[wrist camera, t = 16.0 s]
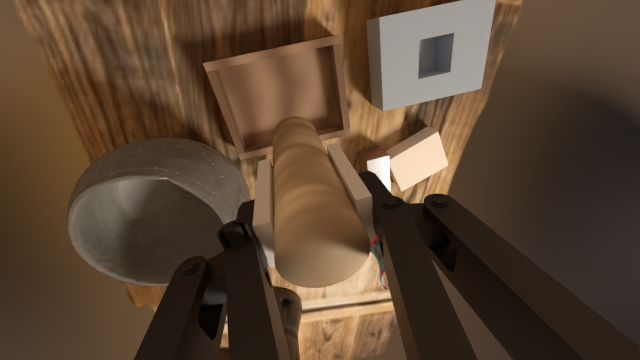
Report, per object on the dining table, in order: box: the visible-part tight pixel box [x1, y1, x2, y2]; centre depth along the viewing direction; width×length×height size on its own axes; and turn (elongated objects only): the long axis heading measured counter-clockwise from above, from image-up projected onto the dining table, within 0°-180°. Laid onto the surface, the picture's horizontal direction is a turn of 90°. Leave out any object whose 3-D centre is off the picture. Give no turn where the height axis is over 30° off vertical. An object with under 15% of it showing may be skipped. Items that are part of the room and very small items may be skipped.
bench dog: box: [359, 146, 390, 191], centre depth 45 cm, size 4×8×4 cm, turn 10°
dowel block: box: [366, 0, 496, 111], centre depth 36 cm, size 16×12×5 cm
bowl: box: [67, 138, 251, 286], centre depth 36 cm, size 21×21×15 cm
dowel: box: [272, 116, 371, 288], centre depth 16 cm, size 4×4×14 cm
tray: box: [203, 35, 351, 160], centre depth 36 cm, size 18×14×4 cm
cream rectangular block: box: [385, 126, 448, 192], centre depth 46 cm, size 10×8×4 cm
